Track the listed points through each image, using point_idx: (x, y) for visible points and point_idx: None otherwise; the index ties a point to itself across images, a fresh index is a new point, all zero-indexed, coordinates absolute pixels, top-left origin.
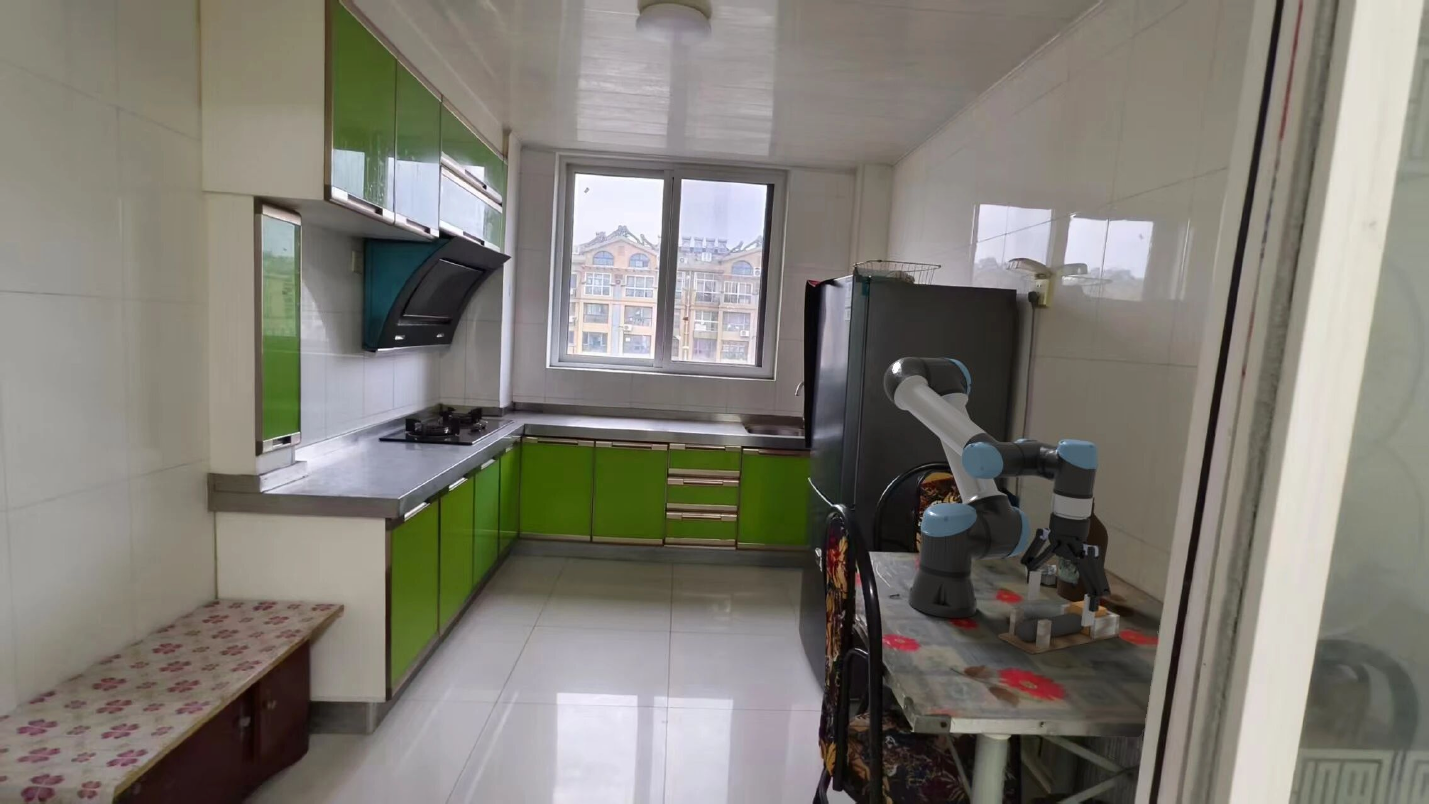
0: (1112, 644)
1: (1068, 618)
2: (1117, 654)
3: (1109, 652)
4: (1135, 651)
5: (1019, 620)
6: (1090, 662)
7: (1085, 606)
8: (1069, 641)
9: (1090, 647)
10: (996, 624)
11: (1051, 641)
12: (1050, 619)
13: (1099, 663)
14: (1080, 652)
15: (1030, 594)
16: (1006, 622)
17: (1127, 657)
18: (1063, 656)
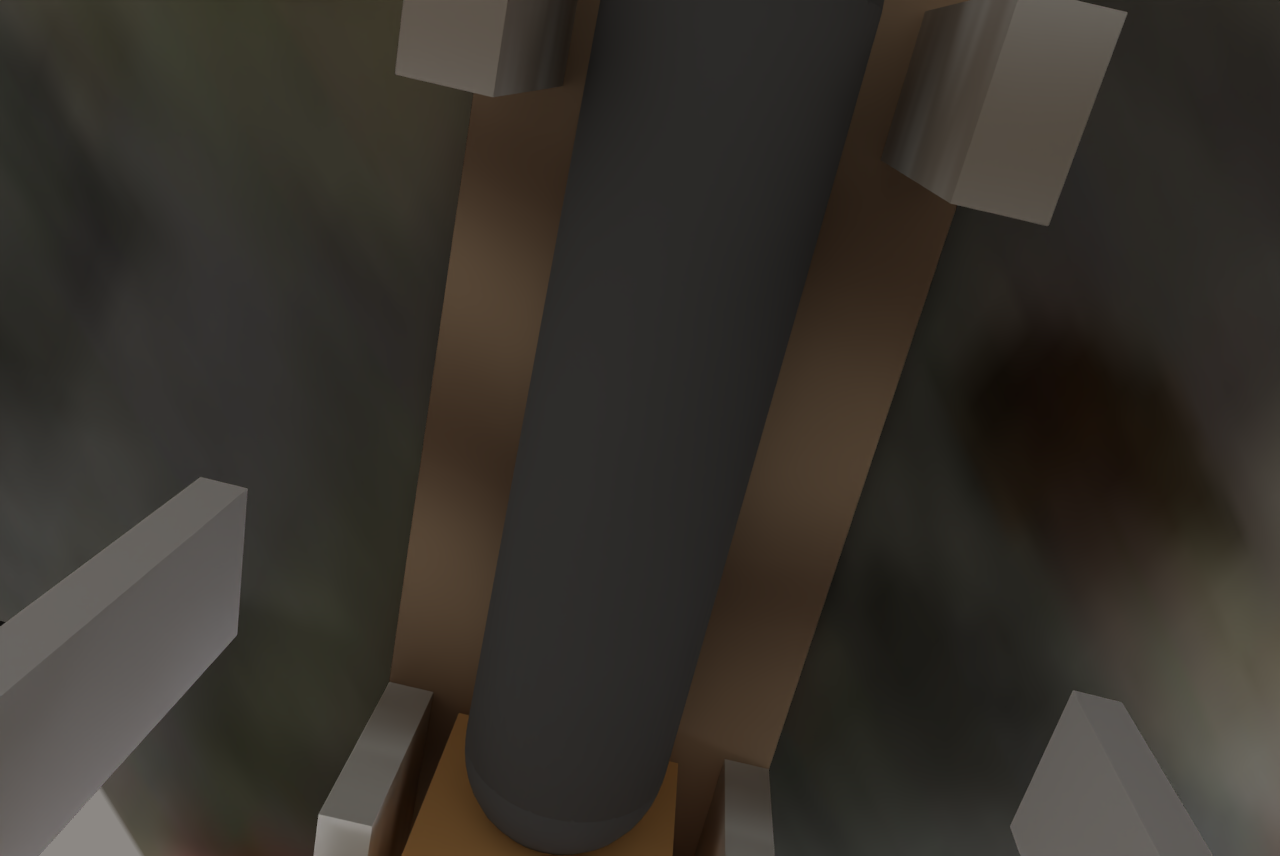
0: (287, 732)
1: (529, 648)
2: None
3: None
4: None
5: (938, 105)
6: (120, 170)
7: (31, 629)
8: (467, 426)
9: (336, 518)
10: (1245, 237)
11: None
12: (615, 399)
13: (72, 229)
14: (310, 323)
15: (1107, 760)
16: (1178, 397)
17: None
18: (329, 56)
